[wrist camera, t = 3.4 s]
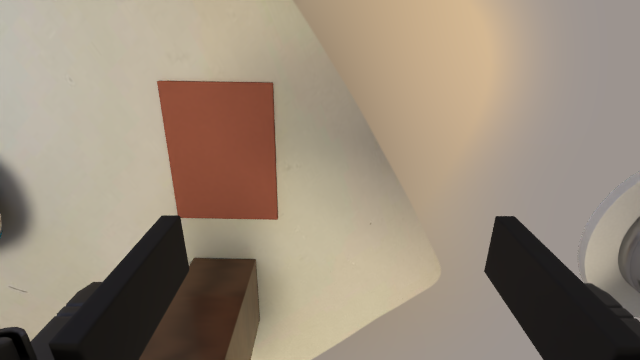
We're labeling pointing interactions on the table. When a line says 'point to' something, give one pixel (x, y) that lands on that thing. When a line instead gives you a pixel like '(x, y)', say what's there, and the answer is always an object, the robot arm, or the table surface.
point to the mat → (221, 148)
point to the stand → (210, 314)
